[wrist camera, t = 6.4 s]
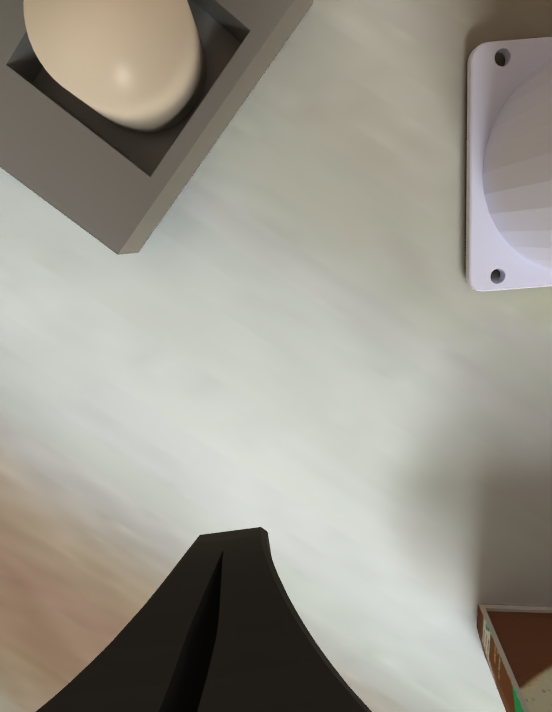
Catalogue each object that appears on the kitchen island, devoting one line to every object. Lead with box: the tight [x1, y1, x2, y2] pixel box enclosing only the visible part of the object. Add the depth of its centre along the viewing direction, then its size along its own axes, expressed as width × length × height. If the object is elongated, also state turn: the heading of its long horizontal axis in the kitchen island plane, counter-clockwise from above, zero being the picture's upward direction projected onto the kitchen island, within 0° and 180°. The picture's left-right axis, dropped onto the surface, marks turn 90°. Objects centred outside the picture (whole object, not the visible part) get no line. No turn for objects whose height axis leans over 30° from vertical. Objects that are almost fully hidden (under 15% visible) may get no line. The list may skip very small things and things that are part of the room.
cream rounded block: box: [23, 0, 206, 133], centre depth 14 cm, size 4×4×4 cm
